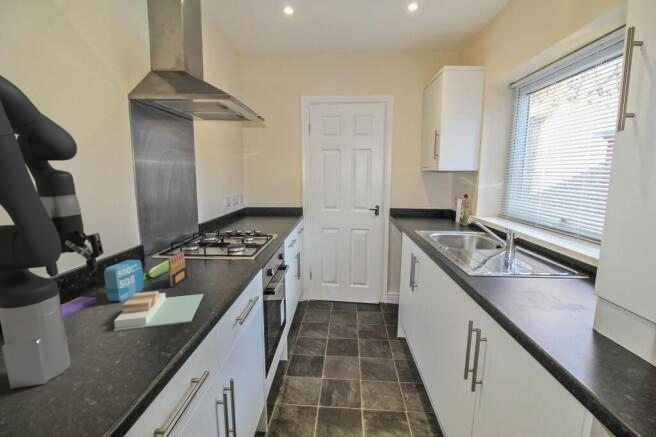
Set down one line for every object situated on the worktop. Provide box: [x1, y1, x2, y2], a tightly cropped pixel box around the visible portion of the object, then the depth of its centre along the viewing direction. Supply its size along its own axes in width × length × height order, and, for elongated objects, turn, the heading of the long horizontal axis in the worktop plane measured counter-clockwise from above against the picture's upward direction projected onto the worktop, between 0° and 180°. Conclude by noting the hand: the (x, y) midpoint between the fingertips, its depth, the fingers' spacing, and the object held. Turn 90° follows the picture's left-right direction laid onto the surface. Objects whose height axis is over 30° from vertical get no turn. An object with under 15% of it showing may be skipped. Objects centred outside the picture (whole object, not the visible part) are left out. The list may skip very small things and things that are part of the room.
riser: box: [113, 292, 167, 329], centre depth 93 cm, size 18×8×2 cm, turn 13°
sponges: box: [61, 296, 98, 318], centre depth 97 cm, size 7×13×2 cm, turn 169°
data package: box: [103, 259, 145, 302], centre depth 106 cm, size 12×4×12 cm, turn 174°
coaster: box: [121, 290, 160, 313], centre depth 93 cm, size 9×7×2 cm
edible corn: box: [143, 258, 169, 283], centre depth 129 cm, size 5×20×5 cm, turn 178°
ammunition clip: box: [167, 250, 189, 289], centre depth 118 cm, size 11×2×12 cm, turn 179°
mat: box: [113, 293, 204, 332], centre depth 94 cm, size 20×20×1 cm
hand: (73, 273), depth 78 cm, fingers open, 8 cm apart
